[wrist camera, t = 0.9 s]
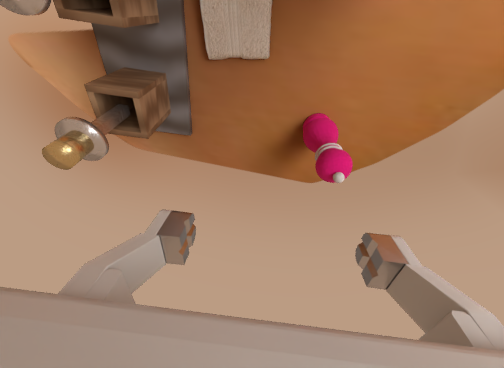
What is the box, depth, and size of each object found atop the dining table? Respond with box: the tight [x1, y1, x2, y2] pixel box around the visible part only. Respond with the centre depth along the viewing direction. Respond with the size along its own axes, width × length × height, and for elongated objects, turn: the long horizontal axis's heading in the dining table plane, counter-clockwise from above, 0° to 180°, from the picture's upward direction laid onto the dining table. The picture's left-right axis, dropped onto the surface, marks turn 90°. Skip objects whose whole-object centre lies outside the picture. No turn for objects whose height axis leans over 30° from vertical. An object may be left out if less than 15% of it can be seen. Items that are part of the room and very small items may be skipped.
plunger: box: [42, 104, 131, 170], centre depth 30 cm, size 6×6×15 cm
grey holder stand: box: [53, 0, 192, 139], centre depth 34 cm, size 34×16×14 cm, turn 173°
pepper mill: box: [303, 113, 353, 183], centre depth 41 cm, size 7×7×20 cm
